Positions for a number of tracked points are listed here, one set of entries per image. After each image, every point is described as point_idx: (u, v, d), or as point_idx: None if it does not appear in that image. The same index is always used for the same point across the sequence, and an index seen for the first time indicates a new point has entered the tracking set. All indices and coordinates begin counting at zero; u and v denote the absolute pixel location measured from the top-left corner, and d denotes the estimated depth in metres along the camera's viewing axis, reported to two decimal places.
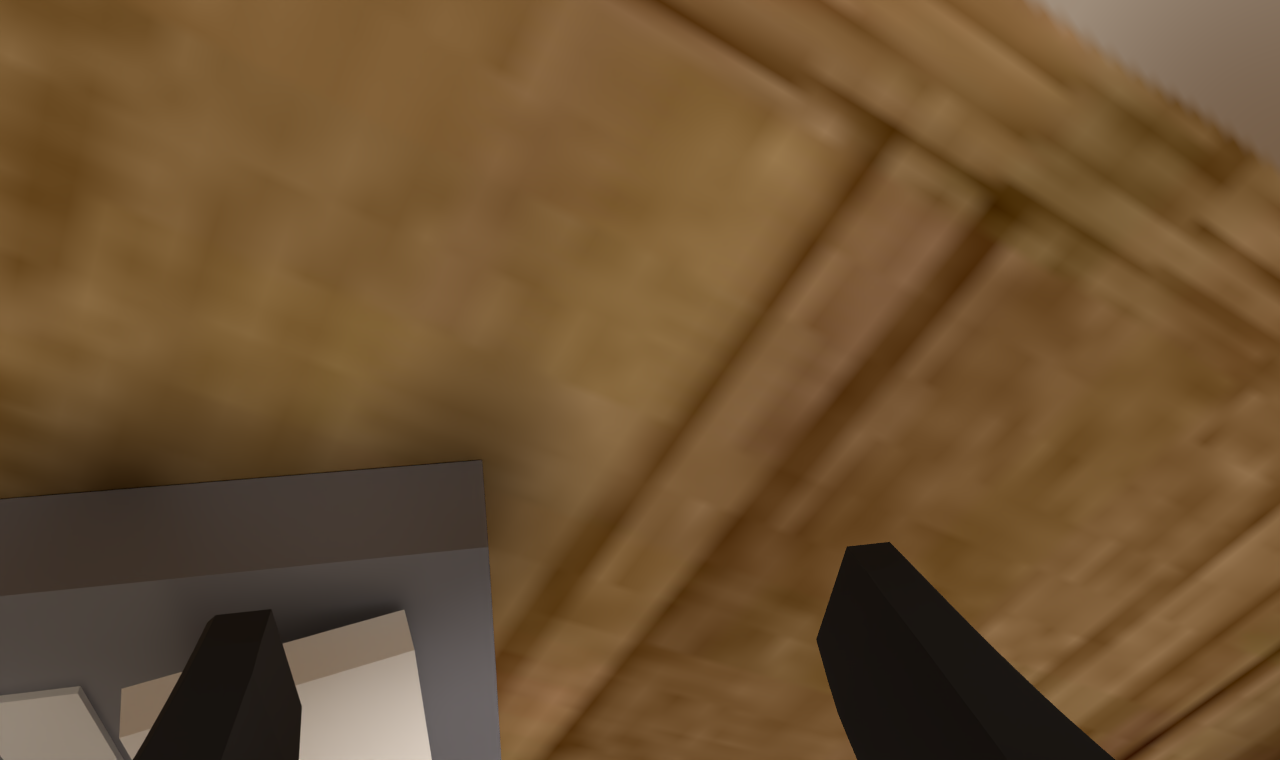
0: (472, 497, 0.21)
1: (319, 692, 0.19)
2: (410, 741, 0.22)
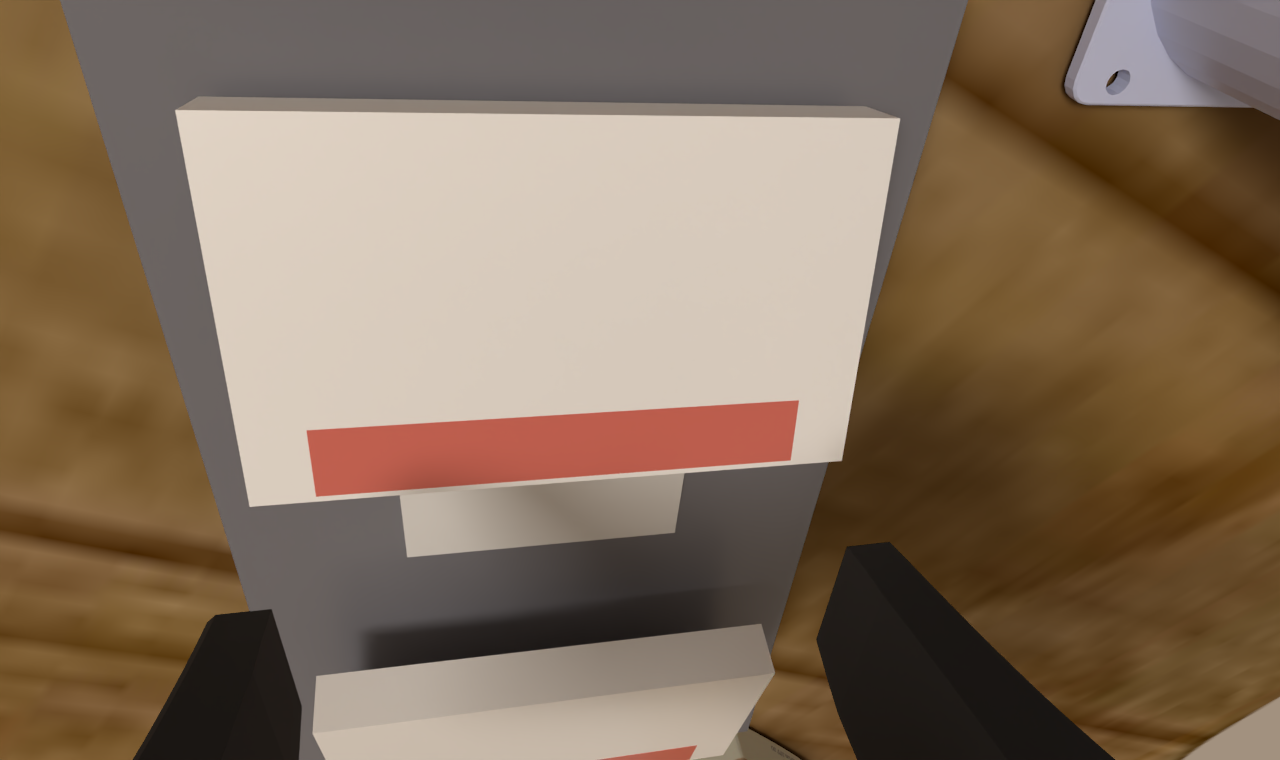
0: None
1: (246, 272, 0.12)
2: (474, 146, 0.12)
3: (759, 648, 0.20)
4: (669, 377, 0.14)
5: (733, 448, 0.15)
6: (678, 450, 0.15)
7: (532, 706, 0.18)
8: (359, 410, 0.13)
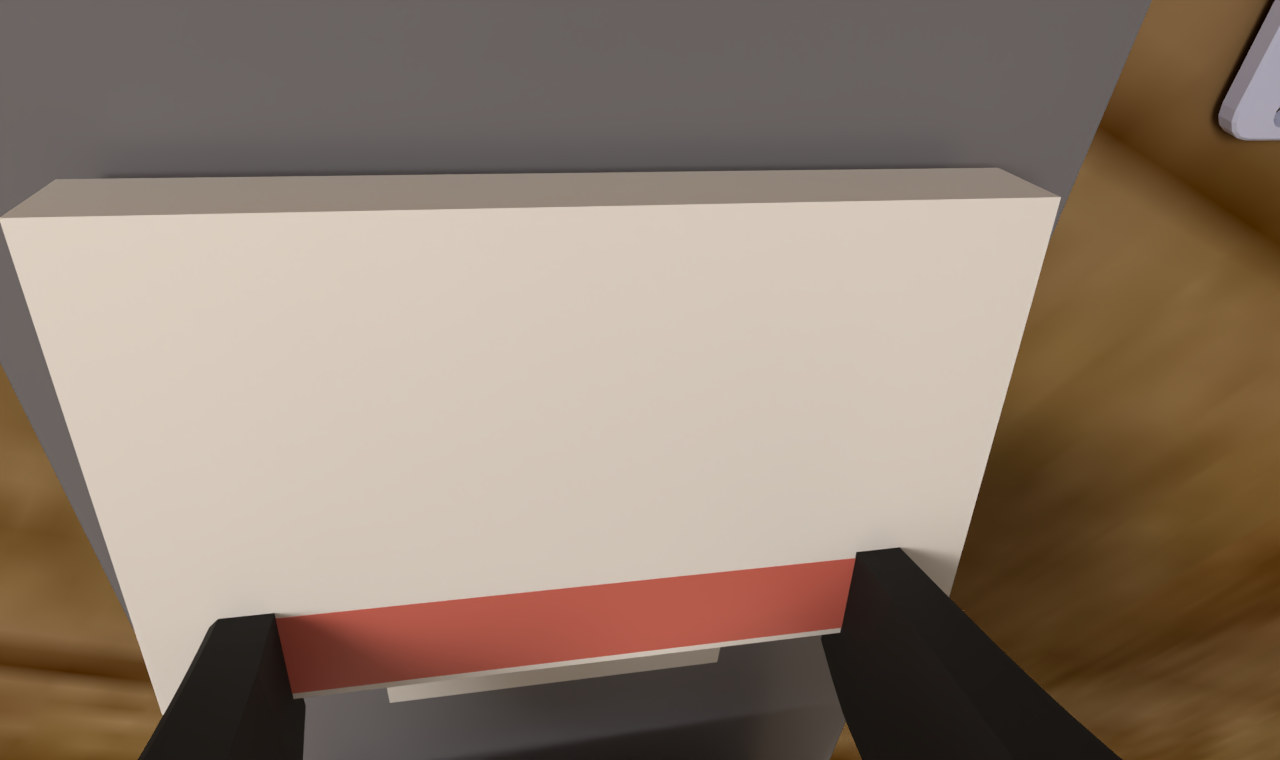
0: None
1: (130, 433, 0.08)
2: (454, 254, 0.08)
3: None
4: (724, 536, 0.10)
5: (804, 613, 0.11)
6: (733, 619, 0.11)
7: None
8: (304, 595, 0.10)
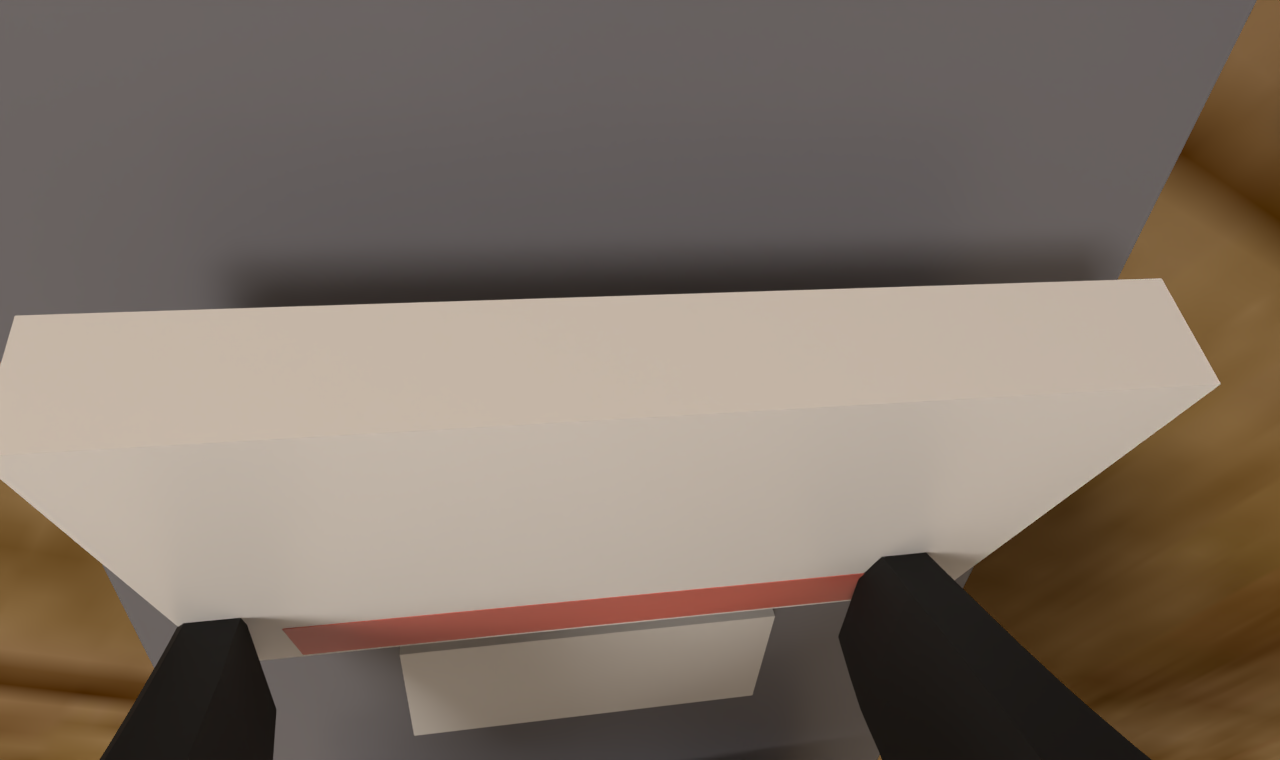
0: None
1: (163, 557, 0.08)
2: (513, 451, 0.07)
3: None
4: (755, 570, 0.11)
5: (815, 596, 0.12)
6: (748, 602, 0.12)
7: None
8: (349, 614, 0.10)
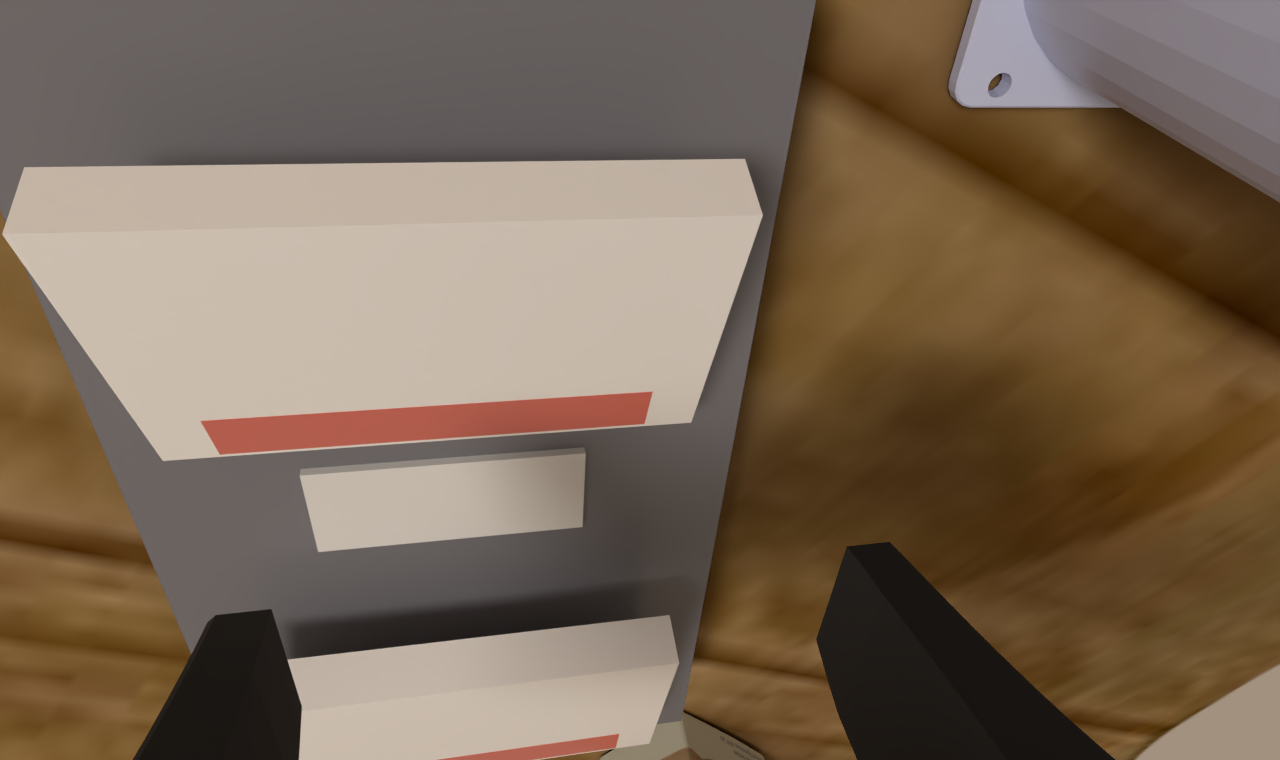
0: None
1: (114, 334, 0.13)
2: (318, 248, 0.12)
3: (665, 639, 0.20)
4: (530, 382, 0.15)
5: (592, 419, 0.17)
6: (541, 421, 0.17)
7: (438, 695, 0.19)
8: (245, 409, 0.15)
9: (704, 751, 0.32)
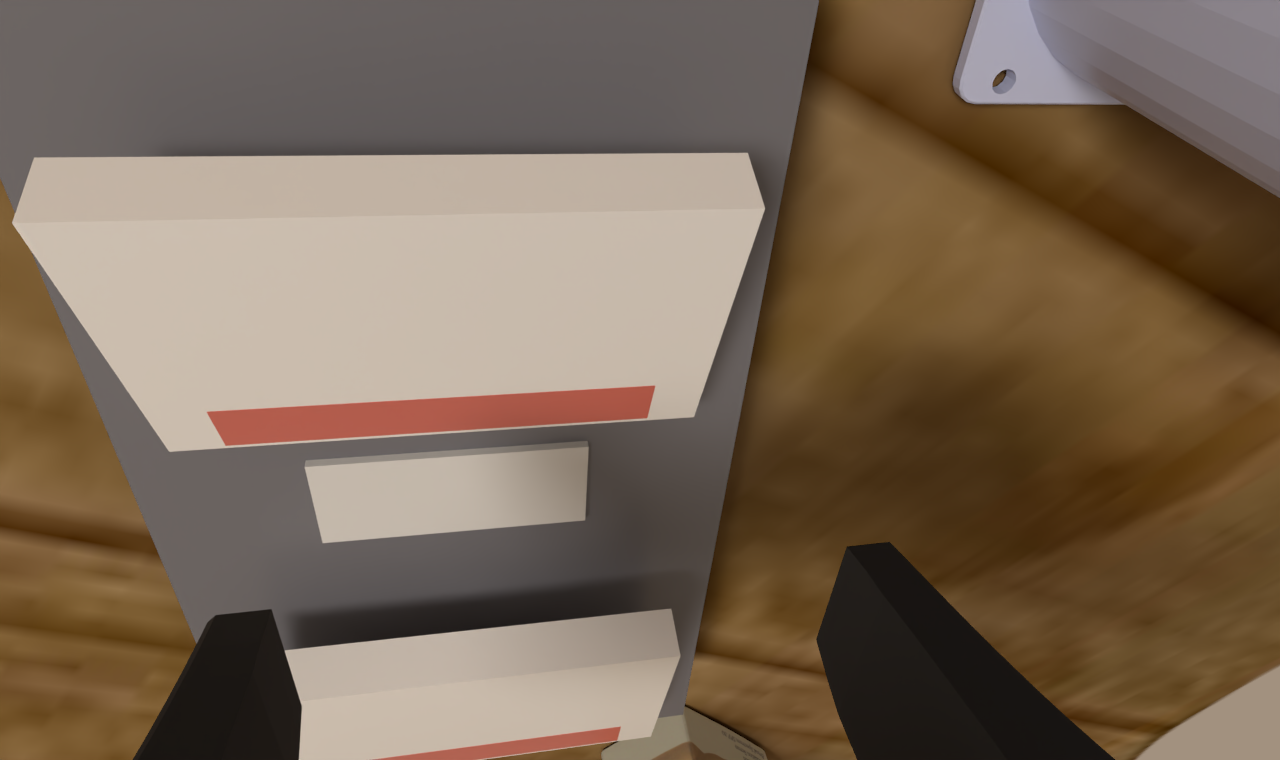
0: None
1: (121, 324, 0.13)
2: (324, 239, 0.12)
3: (667, 632, 0.20)
4: (534, 375, 0.15)
5: (595, 413, 0.17)
6: (545, 415, 0.17)
7: (441, 686, 0.19)
8: (251, 400, 0.15)
9: (705, 745, 0.32)
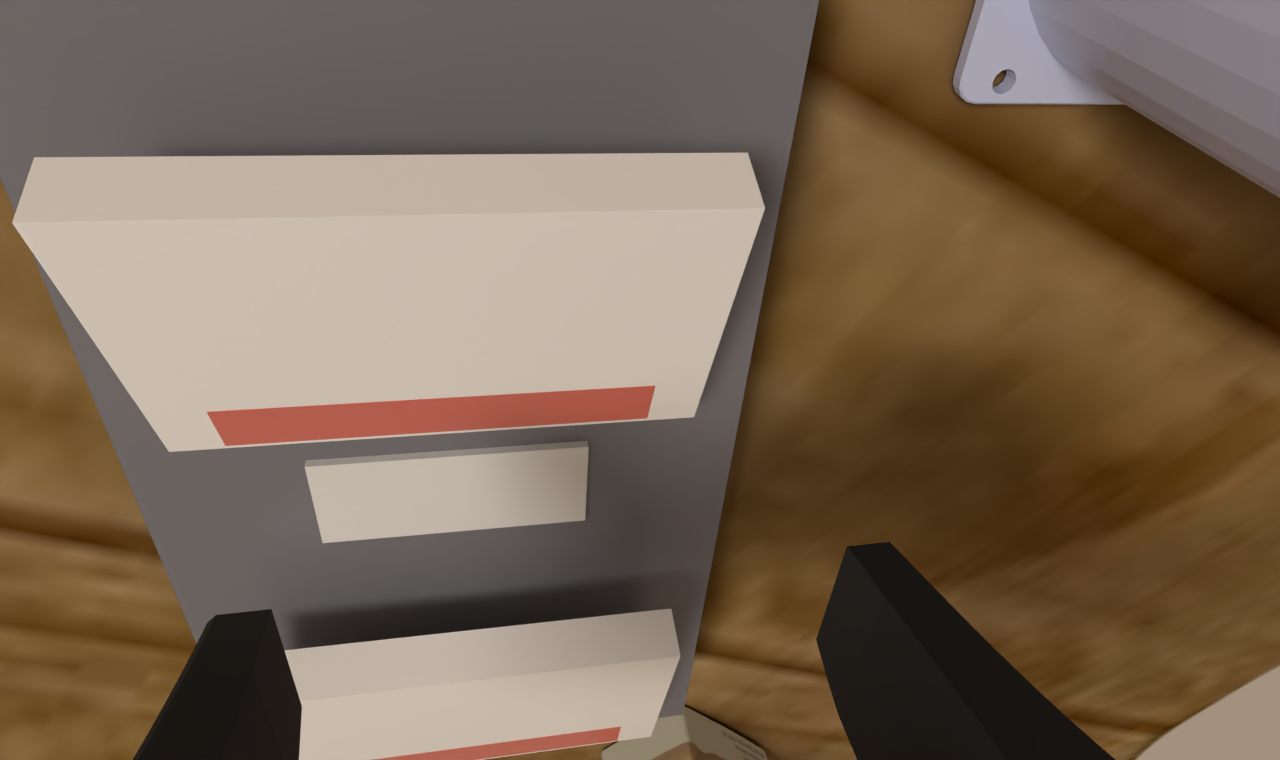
0: None
1: (121, 324, 0.13)
2: (323, 238, 0.12)
3: (667, 632, 0.20)
4: (534, 375, 0.15)
5: (595, 413, 0.17)
6: (545, 415, 0.17)
7: (441, 686, 0.19)
8: (251, 400, 0.15)
9: (705, 745, 0.32)
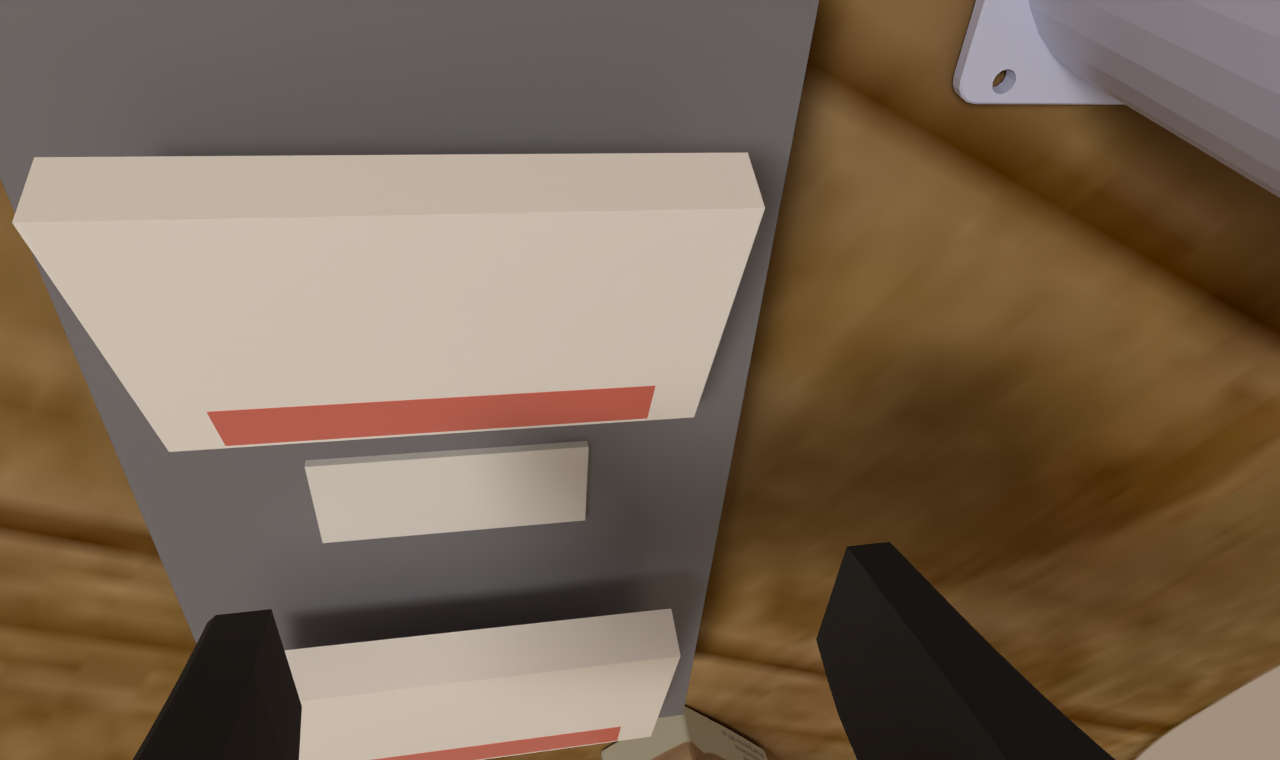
0: None
1: (121, 323, 0.13)
2: (323, 238, 0.12)
3: (667, 632, 0.20)
4: (534, 375, 0.15)
5: (595, 413, 0.17)
6: (545, 415, 0.17)
7: (441, 686, 0.19)
8: (251, 400, 0.15)
9: (705, 745, 0.32)
